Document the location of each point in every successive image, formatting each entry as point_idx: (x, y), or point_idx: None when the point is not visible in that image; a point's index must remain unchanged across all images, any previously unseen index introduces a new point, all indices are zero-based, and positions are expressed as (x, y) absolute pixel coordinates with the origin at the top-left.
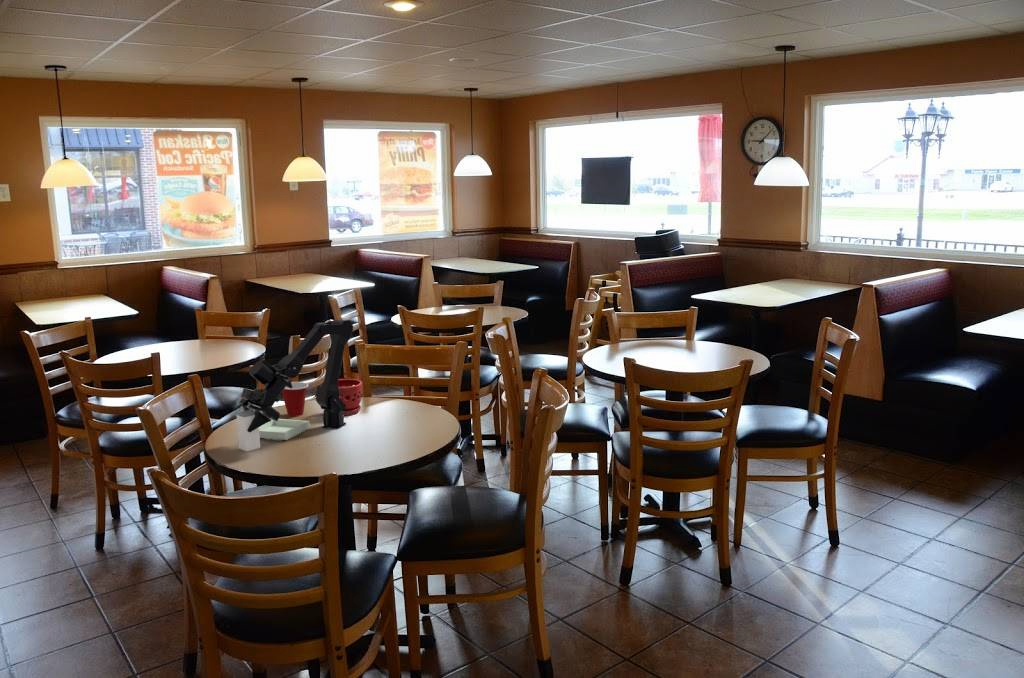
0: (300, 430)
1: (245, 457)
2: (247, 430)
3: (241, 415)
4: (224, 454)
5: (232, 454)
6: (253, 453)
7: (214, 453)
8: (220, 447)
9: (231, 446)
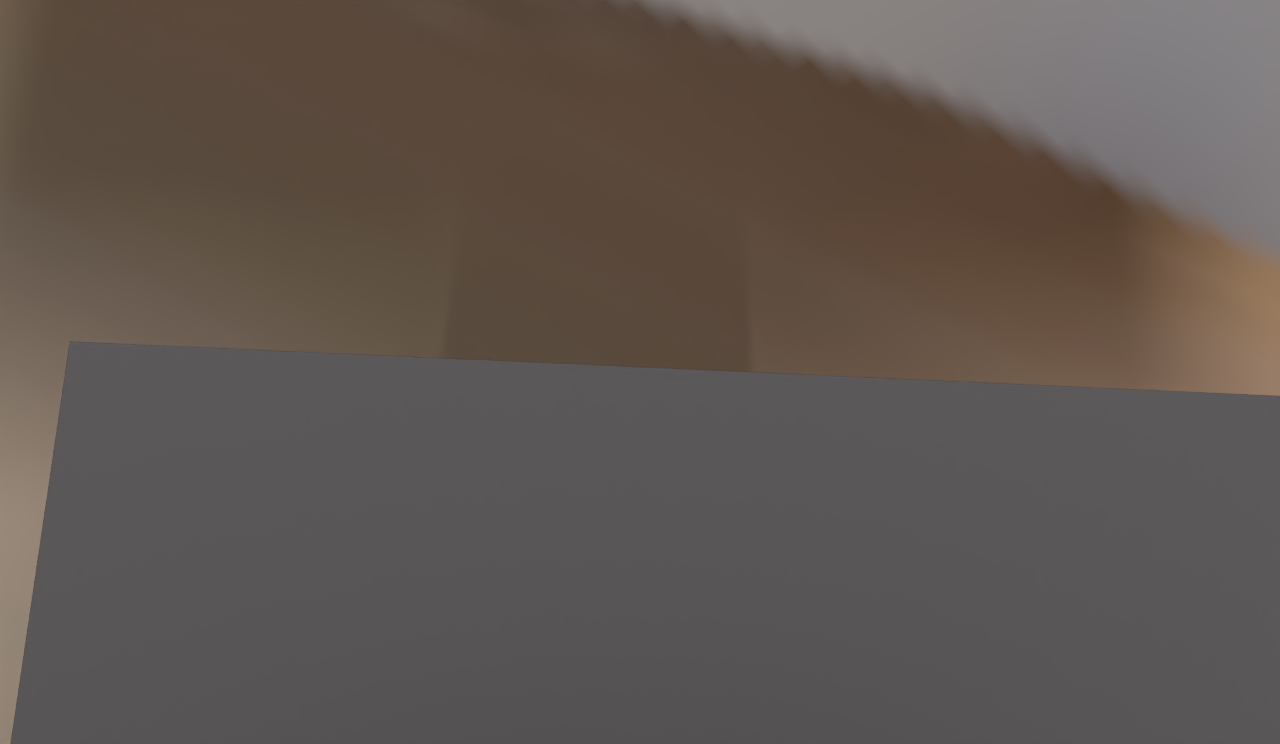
0: None
1: (47, 325)
2: None
3: (560, 394)
4: (632, 157)
5: (493, 257)
6: None
7: (855, 72)
8: (1149, 340)
9: None
